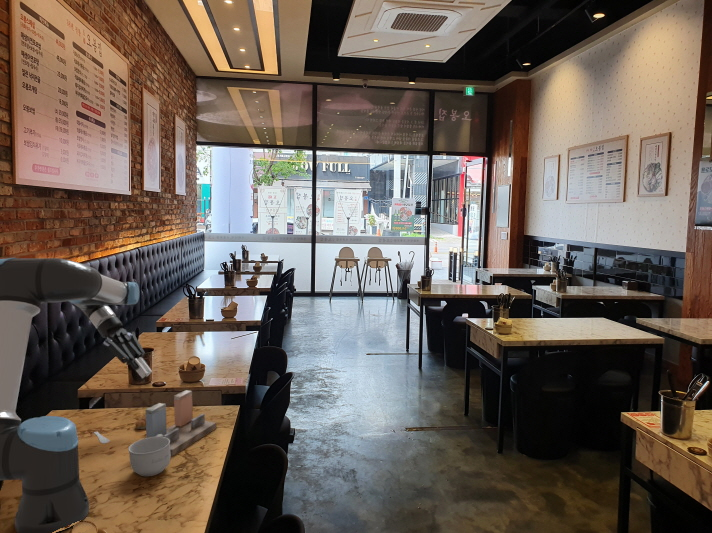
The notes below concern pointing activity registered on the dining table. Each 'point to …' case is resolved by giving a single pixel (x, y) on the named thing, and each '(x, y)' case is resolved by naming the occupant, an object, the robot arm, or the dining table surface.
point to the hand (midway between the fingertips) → (147, 374)
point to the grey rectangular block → (156, 420)
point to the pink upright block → (183, 408)
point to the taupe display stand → (188, 433)
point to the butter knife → (101, 438)
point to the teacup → (150, 455)
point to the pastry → (141, 423)
